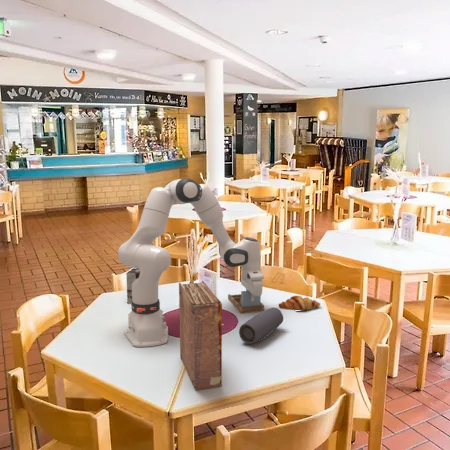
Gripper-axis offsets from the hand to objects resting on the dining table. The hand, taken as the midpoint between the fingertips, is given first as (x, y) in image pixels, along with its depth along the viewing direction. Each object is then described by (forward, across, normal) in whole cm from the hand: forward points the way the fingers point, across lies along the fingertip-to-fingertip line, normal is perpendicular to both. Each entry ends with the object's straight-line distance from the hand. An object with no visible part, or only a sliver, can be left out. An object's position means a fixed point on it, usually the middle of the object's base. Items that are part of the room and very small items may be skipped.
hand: (250, 299), depth 223 cm
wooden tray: (+6, -7, 0) cm, 10 cm away
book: (+6, +49, -37) cm, 61 cm away
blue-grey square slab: (+4, 0, 0) cm, 4 cm away
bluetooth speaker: (+7, +28, -5) cm, 29 cm away
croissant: (+7, +3, +24) cm, 26 cm away
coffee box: (+7, -32, -51) cm, 60 cm away
